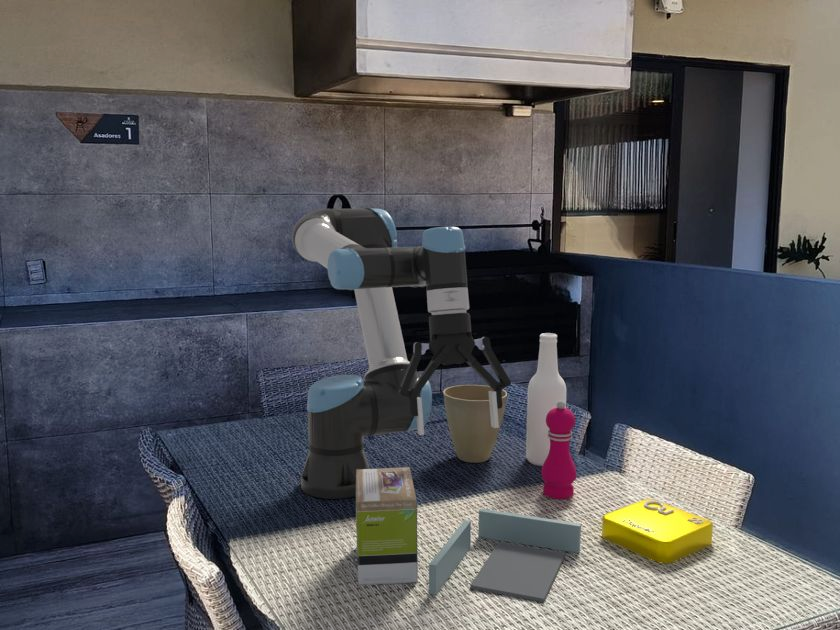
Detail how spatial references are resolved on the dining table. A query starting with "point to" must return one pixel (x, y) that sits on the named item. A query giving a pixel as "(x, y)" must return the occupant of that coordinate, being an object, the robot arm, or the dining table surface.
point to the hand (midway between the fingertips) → (458, 430)
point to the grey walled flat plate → (502, 539)
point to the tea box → (386, 526)
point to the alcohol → (543, 399)
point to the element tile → (657, 530)
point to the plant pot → (472, 421)
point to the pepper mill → (559, 454)
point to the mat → (519, 571)
